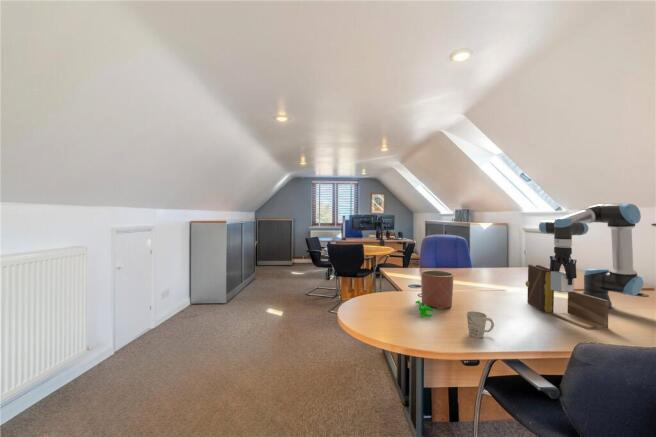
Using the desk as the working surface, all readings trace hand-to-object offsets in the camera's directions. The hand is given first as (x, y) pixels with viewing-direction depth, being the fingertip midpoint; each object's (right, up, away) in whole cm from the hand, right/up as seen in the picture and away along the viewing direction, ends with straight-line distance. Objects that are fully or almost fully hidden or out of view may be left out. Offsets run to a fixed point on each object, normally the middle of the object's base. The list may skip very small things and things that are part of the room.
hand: (562, 288), depth 158 cm
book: (+4, -17, +22) cm, 28 cm away
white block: (0, -1, 0) cm, 1 cm away
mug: (-56, -17, -21) cm, 62 cm away
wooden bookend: (+7, -17, -1) cm, 19 cm away
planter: (-59, -16, +25) cm, 66 cm away
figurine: (-74, -16, +4) cm, 76 cm away
